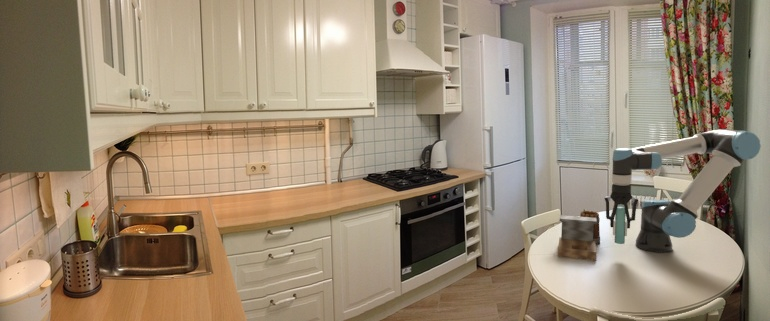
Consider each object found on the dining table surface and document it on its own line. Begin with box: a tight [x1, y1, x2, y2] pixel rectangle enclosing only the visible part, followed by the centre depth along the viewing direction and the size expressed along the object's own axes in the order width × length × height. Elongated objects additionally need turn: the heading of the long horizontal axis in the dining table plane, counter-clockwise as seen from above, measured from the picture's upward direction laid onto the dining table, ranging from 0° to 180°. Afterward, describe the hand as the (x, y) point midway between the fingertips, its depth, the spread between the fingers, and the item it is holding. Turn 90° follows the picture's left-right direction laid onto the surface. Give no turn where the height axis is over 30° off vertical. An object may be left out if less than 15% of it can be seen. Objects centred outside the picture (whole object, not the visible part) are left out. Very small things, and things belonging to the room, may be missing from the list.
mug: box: [579, 209, 601, 246], centre depth 227 cm, size 16×11×15 cm
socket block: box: [557, 214, 598, 262], centre depth 210 cm, size 16×17×15 cm
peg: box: [614, 206, 626, 245], centre depth 201 cm, size 4×4×16 cm
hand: (619, 234), depth 201 cm, fingers closed on peg, 4 cm apart
